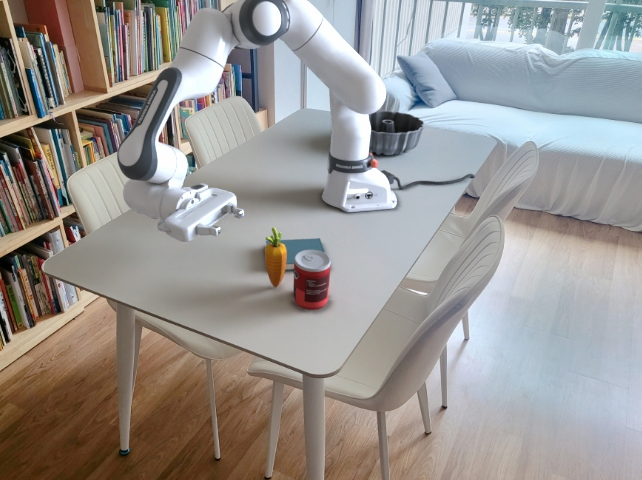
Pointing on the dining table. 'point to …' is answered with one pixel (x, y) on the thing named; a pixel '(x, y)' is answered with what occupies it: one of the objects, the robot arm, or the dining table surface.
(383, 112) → the bundt pan
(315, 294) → the canned food
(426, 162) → the dining table surface
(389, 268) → the dining table surface
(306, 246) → the blue hardcover book
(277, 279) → the carrot
